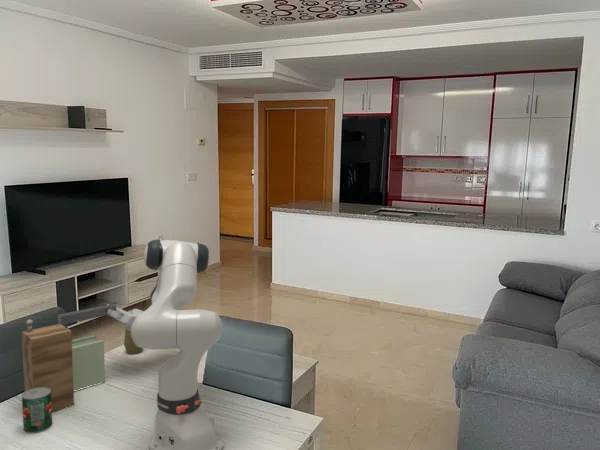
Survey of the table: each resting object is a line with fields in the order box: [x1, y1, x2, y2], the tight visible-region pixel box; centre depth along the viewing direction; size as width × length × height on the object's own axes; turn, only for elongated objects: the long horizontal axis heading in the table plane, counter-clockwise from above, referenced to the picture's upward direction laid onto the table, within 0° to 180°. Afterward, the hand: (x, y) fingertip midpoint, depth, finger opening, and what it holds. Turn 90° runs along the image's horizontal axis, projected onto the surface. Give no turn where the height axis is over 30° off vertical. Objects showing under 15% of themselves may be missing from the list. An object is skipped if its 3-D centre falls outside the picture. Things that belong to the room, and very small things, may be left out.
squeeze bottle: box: [123, 327, 143, 355], centre depth 209 cm, size 8×8×18 cm
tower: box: [21, 319, 75, 413], centre depth 160 cm, size 10×12×30 cm
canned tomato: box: [21, 387, 53, 434], centre depth 148 cm, size 8×8×11 cm
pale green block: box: [72, 334, 106, 391], centre depth 176 cm, size 8×15×16 cm, turn 136°
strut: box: [57, 303, 117, 326], centre depth 177 cm, size 3×20×3 cm, turn 135°
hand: (104, 309), depth 181 cm, fingers closed on strut, 3 cm apart
